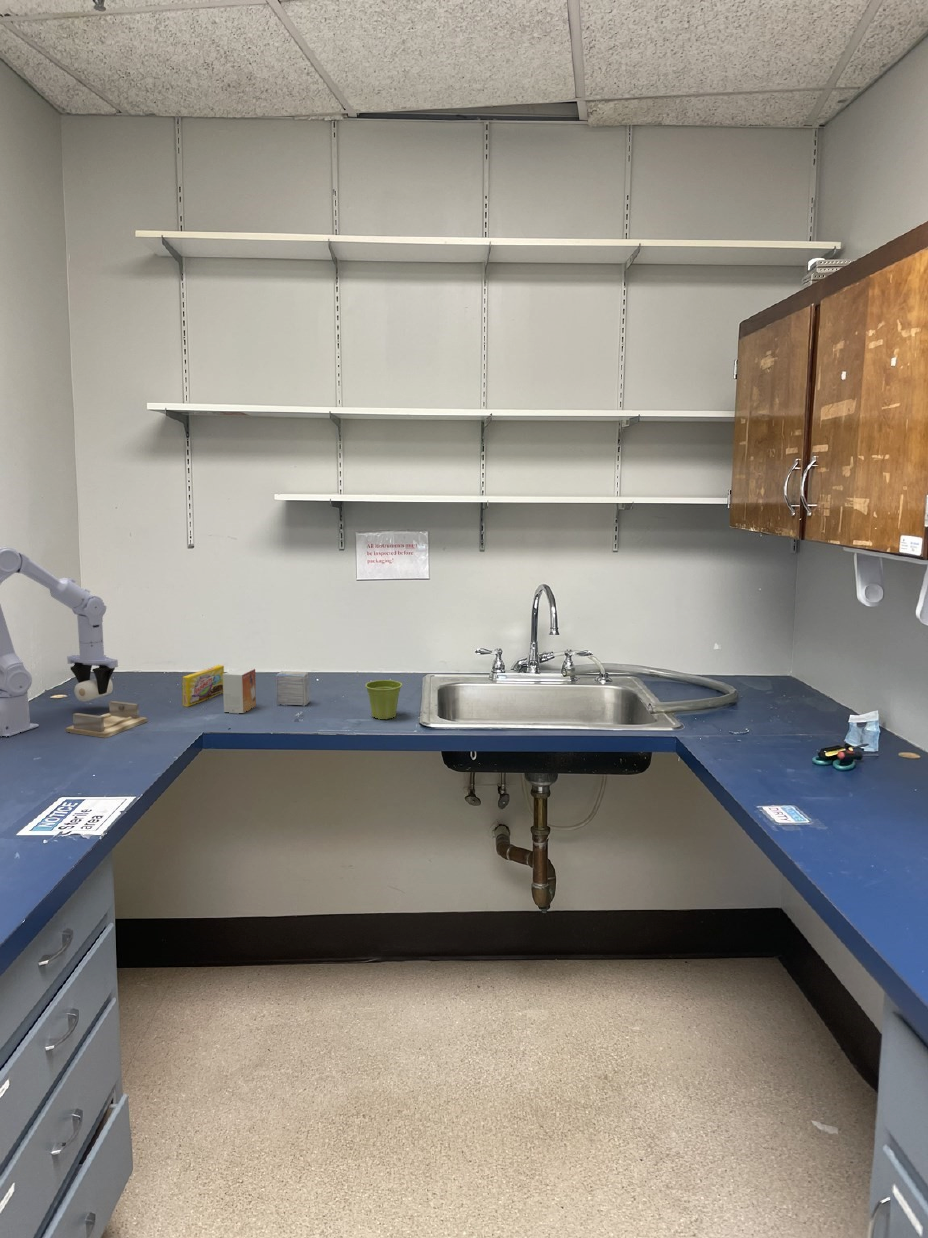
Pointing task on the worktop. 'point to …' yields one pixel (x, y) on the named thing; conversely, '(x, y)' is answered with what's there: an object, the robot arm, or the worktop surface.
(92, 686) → the paper roll
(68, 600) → the robot arm
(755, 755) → the worktop surface
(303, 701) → the grey wooden crate
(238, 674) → the small box
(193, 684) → the candy box
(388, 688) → the plant pot
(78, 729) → the roll holder
